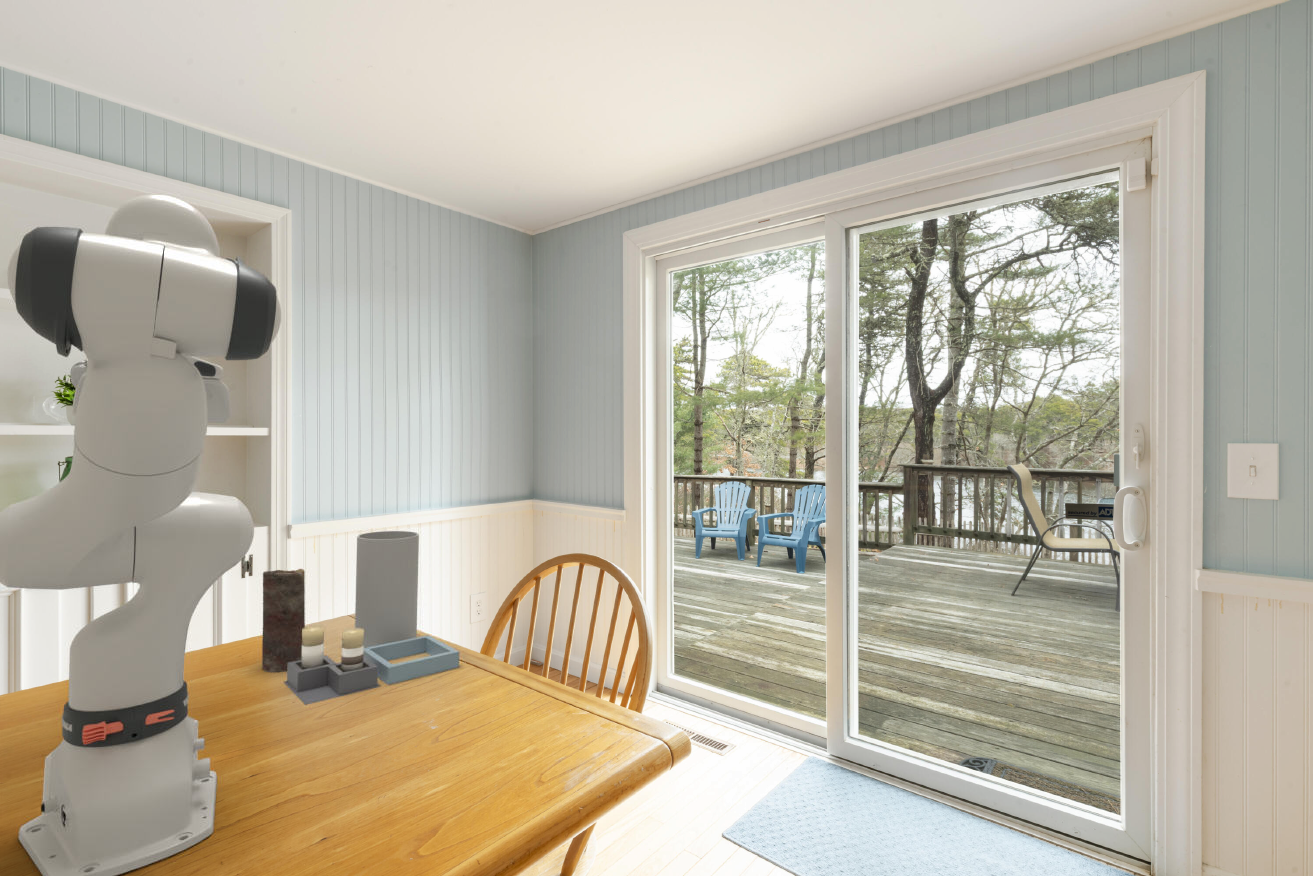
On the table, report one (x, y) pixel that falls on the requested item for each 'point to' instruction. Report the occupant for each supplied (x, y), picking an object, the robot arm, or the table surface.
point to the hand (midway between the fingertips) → (155, 449)
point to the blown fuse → (352, 649)
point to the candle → (282, 618)
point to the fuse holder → (329, 680)
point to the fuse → (312, 647)
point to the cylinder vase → (387, 586)
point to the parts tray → (390, 674)
